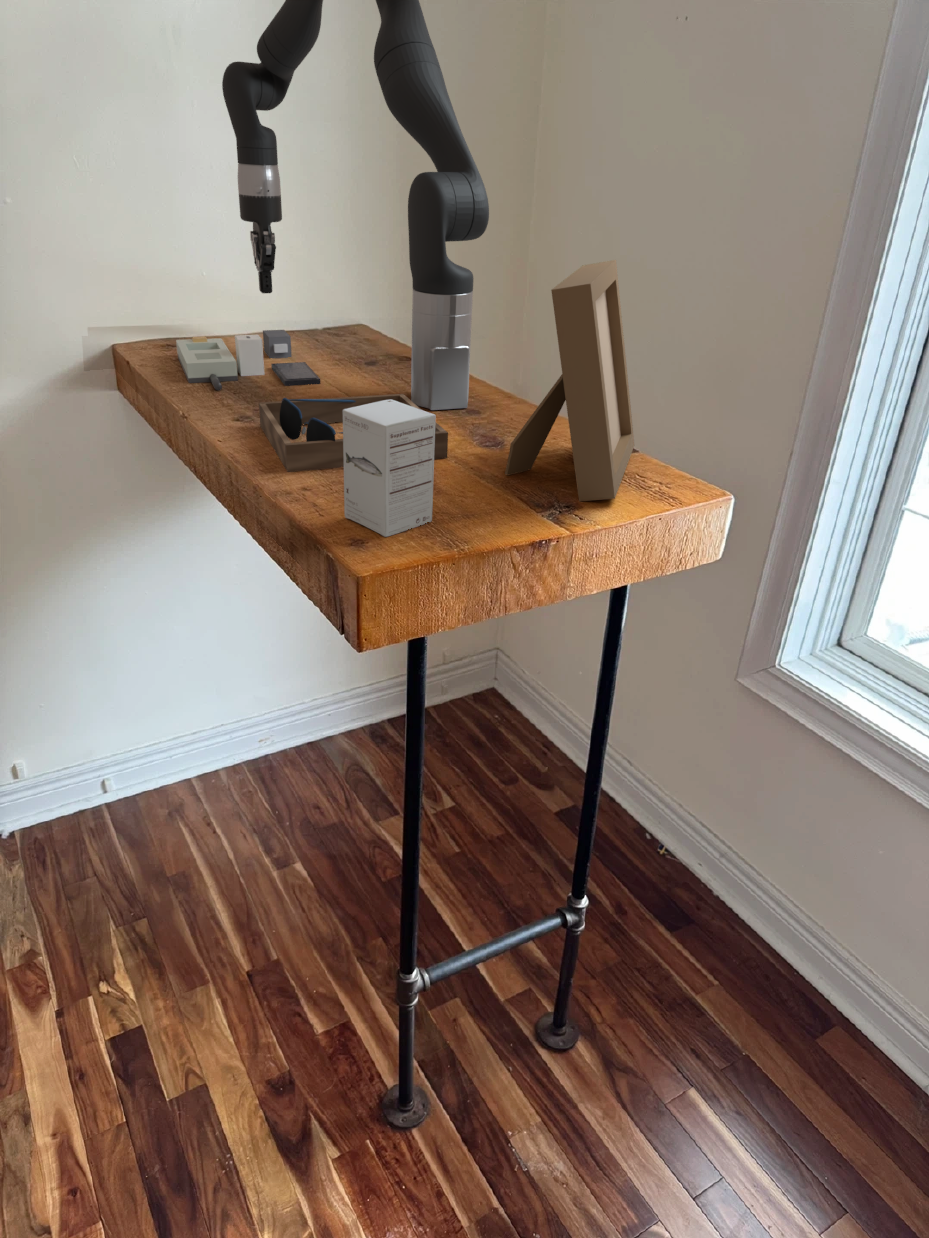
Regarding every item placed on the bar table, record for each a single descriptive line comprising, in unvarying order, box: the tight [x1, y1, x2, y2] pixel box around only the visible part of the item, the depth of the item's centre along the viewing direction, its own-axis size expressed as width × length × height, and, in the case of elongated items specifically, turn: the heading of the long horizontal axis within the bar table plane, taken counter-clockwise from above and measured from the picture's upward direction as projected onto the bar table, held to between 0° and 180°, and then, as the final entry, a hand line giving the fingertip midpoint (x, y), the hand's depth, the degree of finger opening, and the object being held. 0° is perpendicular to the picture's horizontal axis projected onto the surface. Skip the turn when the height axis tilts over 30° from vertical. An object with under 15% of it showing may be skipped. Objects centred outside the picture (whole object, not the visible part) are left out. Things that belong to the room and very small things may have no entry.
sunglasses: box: [280, 397, 356, 442], centre depth 123 cm, size 17×15×5 cm
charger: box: [234, 334, 265, 377], centre depth 153 cm, size 4×4×6 cm
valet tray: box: [258, 393, 449, 473], centre depth 123 cm, size 20×22×4 cm
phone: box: [271, 361, 321, 387], centre depth 153 cm, size 12×6×1 cm, turn 21°
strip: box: [175, 335, 239, 391], centre depth 152 cm, size 24×8×4 cm, turn 21°
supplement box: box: [342, 399, 437, 538], centre depth 97 cm, size 7×7×13 cm
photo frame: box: [504, 259, 635, 502], centre depth 111 cm, size 15×22×25 cm
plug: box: [262, 329, 293, 359], centre depth 166 cm, size 7×4×4 cm, turn 21°
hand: (266, 292), depth 169 cm, fingers closed
